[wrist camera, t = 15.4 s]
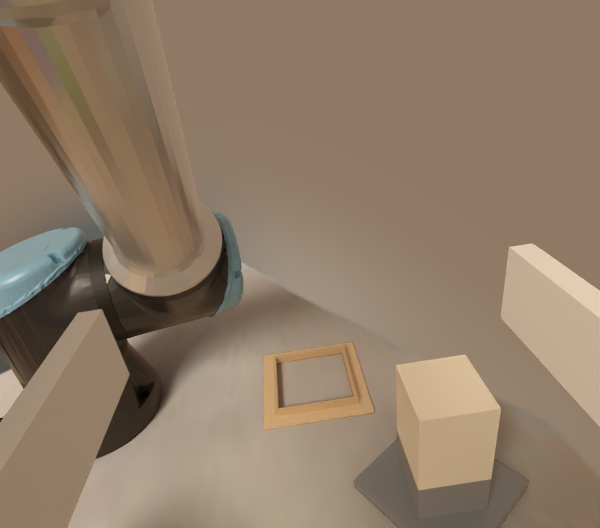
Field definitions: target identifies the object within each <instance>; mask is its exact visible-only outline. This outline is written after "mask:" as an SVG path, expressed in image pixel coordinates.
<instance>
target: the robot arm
mask: <svg viewBox="0 0 600 528" xmlns="http://www.w3.org/2000/svg"><path fill="white" fill-rule="evenodd" d="M0 84H1V86H2V87H3V89H4V90H5V92H6V93H7V94H8V96H9V97H10V99H11V100H12V102H13V103H14V105H15V106H16V108H17V109H18V110H19V112H20V113H21V115H22V116H23V118H24V119H25V121H26V122H27V123H28V125H29V127H30V128H31V129H32V131H33V132H34V134H35V135H36V137H37V138H38V140H39V141H40V143H41V144H42V145H43V147H44V148H45V150H46V151H47V153H48V154H49V155H50V157H51V159H52V160H53V161H54V163H55V164H56V166H57V167H58V169H59V170H60V172H61V173H62V175H63V176H64V177H65V179H66V180H67V182H68V183H69V185H70V186H71V188H72V189H73V191H74V192H75V193H76V195H77V196H78V198H79V199H80V201H81V202H82V204H83V205H84V207H85V208H86V210H87V211H88V212H89V214H90V215H91V217H92V218H93V220H94V221H95V223H96V224H97V225H98V227H99V228H100V230H101V231H102V233H103V234H104V238H102V239H97V240H93V241H88V237H87V235H86V234H84V233H83V231H82V230H80V229H78V228H74V227H71V228H68V229H67V228H61V229H56V230H52V231H49V232H46V233H42V234H40V235H37V236H34V237H32V238H29V239H27V240H24V241H22V242H20V243H18V244H15V245H13V246H11V247H9V248H7V249H6V250H4V251H2V252H0V351H1V352H2V354H3V356H4V357H5V359H6V361H7V362H8V364H9V366H10V367H11V369H12V371H13V372H14V374H15V376H16V377H17V379H18V380H19V382H20V383H21V385H22V387H23V389H24V390H23V391H22V392H21V394H20V395H19V397H18V398H17V399H16V401H15V402H14V404H13V405H12V407H11V408H10V409H9V411H8V412H7V414H6V415H5V416H4V418H0V528H67V526H68V524H69V522H70V519H71V517H72V514H73V512H74V509H75V507H76V505H77V502H78V500H79V497H80V495H81V492H82V490H83V487H84V485H85V483H86V480H87V478H88V475H89V473H90V470H91V468H92V465H93V463H94V461H95V458H98V457H100V456H103V455H105V454H107V453H109V452H111V451H113V450H115V449H117V448H119V447H120V446H122V445H123V444H125V443H126V442H128V441H129V440H131V439H132V438H133V437H134V436H136V435H137V434H138V433H139V432H140V431H141V430H142V429H143V428H144V427H145V426H146V425H147V424H148V423H149V421H150V420H151V419H152V417H153V416H154V414H155V413H156V411H157V409H158V407H159V404H160V401H161V397H162V388H161V384H160V381H159V379H158V376H157V374H156V372H155V370H154V369H153V367H152V366H151V365H150V364H149V363H148V362H147V361H146V360H145V359H144V358H143V357H142V356H141V355H140V354H139V353H138V352H137V351H136V350H135V349H134V348H133V347H132V346H131V345H130V344H129V343H128V341H127V338H131V337H134V336H138V335H141V334H145V333H149V332H152V331H156V330H160V329H163V328H167V327H170V326H174V325H178V324H181V323H185V322H189V321H192V320H196V319H199V318H203V317H207V316H209V317H212V316H216V315H218V314H220V313H221V312H223V311H226V310H229V309H232V308H234V307H235V306H237V305H238V304H239V302H240V300H241V298H242V294H243V276H242V273H241V259H240V253H239V249H238V245H237V241H236V237H235V234H234V231H233V228H232V226H231V223H230V221H229V220H228V218H227V217H226V216H225V215H223V214H222V213H212V212H211V211H210V210H209V209H208V208H207V207H206V206H205V205H203V204H202V203H200V202H199V200H198V196H197V192H196V187H195V183H194V178H193V174H192V170H191V165H190V161H189V157H188V152H187V148H186V144H185V140H184V136H183V131H182V127H181V122H180V118H179V114H178V110H177V105H176V101H175V97H174V92H173V88H172V84H171V79H170V75H169V71H168V67H167V63H166V58H165V54H164V49H163V45H162V41H161V36H160V32H159V28H158V23H157V19H156V15H155V10H154V6H153V2H152V0H0ZM501 318H502V319H503V320H504V322H505V323H506V324H507V325H508V326H509V327H510V328H511V329H512V330H513V332H514V333H515V334H516V335H517V336H518V337H519V338H520V339H521V340H522V341H523V343H525V345H526V346H527V347H528V348H529V349H530V350H531V351H532V353H533V354H534V355H535V356H536V357H537V358H538V359H539V360H540V361H541V363H542V364H543V365H544V366H545V367H546V368H547V369H548V370H549V371H550V373H551V374H552V375H553V376H554V377H555V378H556V379H557V380H558V381H559V383H560V384H561V385H562V386H563V387H564V388H565V389H566V390H567V391H568V392H569V393H570V395H571V396H572V397H573V398H574V399H575V400H576V401H577V402H578V404H579V405H580V406H581V407H582V408H583V409H584V410H585V411H586V412H587V413H588V415H589V416H590V417H591V418H592V419H593V420H594V421H595V422H596V423H597V425H598V426H599V427H600V291H599V290H598V289H596V288H595V287H594V286H592V285H591V284H589V283H588V282H586V281H585V280H584V279H582V278H581V277H579V276H578V275H577V274H575V273H574V272H572V271H571V270H569V269H568V268H567V267H565V266H564V265H562V264H561V263H560V262H558V261H557V260H555V259H554V258H552V257H551V256H550V255H548V254H547V253H545V252H544V251H543V250H541V249H539V248H538V247H537V246H535V245H534V244H527V245H520V246H513V247H509V254H508V262H507V270H506V278H505V286H504V294H503V302H502V310H501Z"/></svg>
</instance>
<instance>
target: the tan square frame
mask: <svg viewBox="0 0 600 528" xmlns="http://www.w3.org/2000/svg"><path fill="white" fill-rule="evenodd" d="M340 353H342V356H343V360H344V364H345V368H346V371H347V375H348V379H349V383H350V386H351V390H352V394H353V397H347V398H341V399H334V400H328V401H322V402H315V403H309V404H302V405H296V406H290V407H283V408H279V394H278V374H277V363H282V362H288V361H294V360H301V359H307V358H314V357H320V356H327V355H333V354H340ZM368 413H375V412H374V409H373V406H372V402H371V399H370V396H369V393H368V390H367V386H366V383H365V380H364V377H363V374H362V371H361V367H360V364H359V361H358V358H357V355H356V351H355V348H354V345H353V342H349V343H342V344H336V345H329V346H323V347H316V348H310V349H303V350H297V351H290V352H284V353H277V354H271V355H264V356H263V430H267V429H273V428H279V427H286V426H292V425H298V424H305V423H311V422H318V421H324V420H330V419H337V418H343V417H349V416H356V415H362V414H368Z"/></svg>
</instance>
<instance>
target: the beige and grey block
mask: <svg viewBox="0 0 600 528" xmlns="http://www.w3.org/2000/svg"><path fill="white" fill-rule="evenodd" d="M396 406H397V449H398V460H399V463H400V467H401V470H402V473H403V476H404V479H405V482H406V485H407V488H408V491H409V494H410V497H411V500H412V503H413V506H414V509H415V512H416V515H417V518H418V519H425V518H431V517H438V516H444V515H450V514H457V513H463V512H470V511H476V510H483V509H487V506H488V499H489V491H490V484H491V477H492V470H493V463H494V456H495V449H496V442H497V435H498V428H499V421H500V414H501V408H500V406H499V405H498V403H497V402H496V400H495V399H494V397H493V396H492V394H491V393H490V391H489V390H488V388H487V387H486V385H485V384H484V382H483V381H482V379H481V378H480V376H479V375H478V373H477V372H476V370H475V369H474V367H473V366H472V364H471V363H470V361H469V359H468V358H467V357H466V355H459V356H452V357H446V358H439V359H432V360H425V361H419V362H412V363H406V364H399V365H396Z"/></svg>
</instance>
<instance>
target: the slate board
mask: <svg viewBox="0 0 600 528" xmlns="http://www.w3.org/2000/svg"><path fill="white" fill-rule="evenodd" d="M354 483H355V487H356V488H357V489H358V490H359V491H360V492H361V493H362V494H363V495H364V496H365V497H366V498H367V499H369V500H370V501H371V502H372V503H373V504H374V505H375V506H376V507H377V508H378V509H379V510H380V511H381V512H383V513H384V514H385V515H386V516H387V517H388V518H389V519H390V520H391V521H392V522H393V523H394V524H396V525H397V526H398V527H399V528H500V526H501V525H502V523H503V522H504V521H505V519H506V518H507V516H508V515H509V513H510V512H511V511H512V509H513V508H514V506H515V505H516V504H517V502H518V501H519V499H520V498H521V497H522V495H523V494H524V492H525V491H526V489H527V488H528V483H529V481H528V480H526V479H525V478H523V477H522V476H520V475H519V474H517V473H516V472H514V471H512V470H511V469H509V468H508V467H506V466H505V465H503V464H502V463H500V462H499V461H497V460H495V459H494V463H493V470H492V477H491V484H490V491H489V499H488V506H487V509H483V510H476V511H470V512H463V513H457V514H450V515H444V516H438V517H431V518H425V519H418V518H417V515H416V512H415V509H414V506H413V503H412V500H411V497H410V494H409V491H408V488H407V485H406V482H405V479H404V476H403V473H402V470H401V467H400V463H399V460H398V449H397V440H396V441H395V442H394V443H393V444H392V445H391V446H390V447H389V448H388V449H387V450H386V451H385V452H383V453H382V454H381V455H380V456H379V457H378V458H377V459H376V460H375V461H374V462H373V463H372V464H371V465H370V466H369V467H368V468H367V469H366V470H364V471H363V472H362V473H361V474H360V475H359V476H358V477H357V478H356V479H355V480H354Z"/></svg>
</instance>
